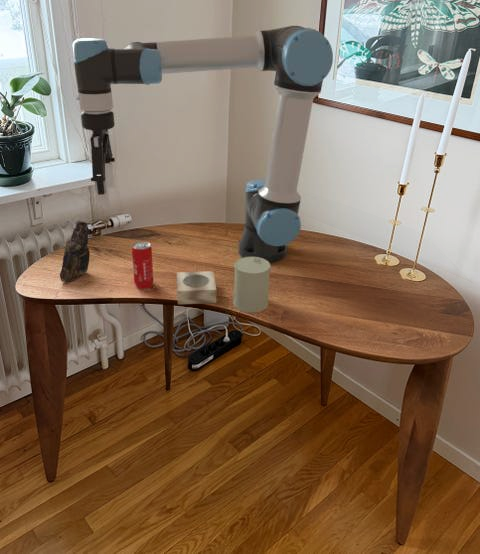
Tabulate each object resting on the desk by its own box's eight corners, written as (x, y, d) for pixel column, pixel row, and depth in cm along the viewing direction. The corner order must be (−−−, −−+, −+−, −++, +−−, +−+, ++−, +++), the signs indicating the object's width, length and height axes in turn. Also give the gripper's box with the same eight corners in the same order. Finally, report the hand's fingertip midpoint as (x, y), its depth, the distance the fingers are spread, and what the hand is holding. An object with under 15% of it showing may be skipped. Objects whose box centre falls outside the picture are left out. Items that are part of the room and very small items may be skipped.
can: (272, 298, 139) (275, 258, 133) (262, 316, 132) (264, 274, 126) (240, 291, 142) (241, 252, 136) (228, 308, 134) (229, 267, 128)
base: (213, 283, 145) (213, 271, 143) (216, 302, 136) (216, 289, 134) (177, 285, 144) (176, 272, 142) (177, 304, 135) (177, 291, 133)
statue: (54, 281, 144) (46, 231, 136) (83, 264, 153) (77, 216, 146) (70, 286, 142) (62, 236, 134) (98, 268, 151) (92, 220, 144)
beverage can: (149, 290, 141) (147, 250, 135) (131, 288, 142) (128, 248, 136) (156, 281, 145) (154, 242, 140) (138, 279, 146) (135, 240, 140)
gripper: (88, 100, 133) (97, 180, 144) (71, 122, 112) (84, 214, 122) (118, 100, 134) (125, 180, 144) (107, 122, 113) (116, 214, 123)
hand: (106, 196), depth 133 cm, fingers open, 13 cm apart
